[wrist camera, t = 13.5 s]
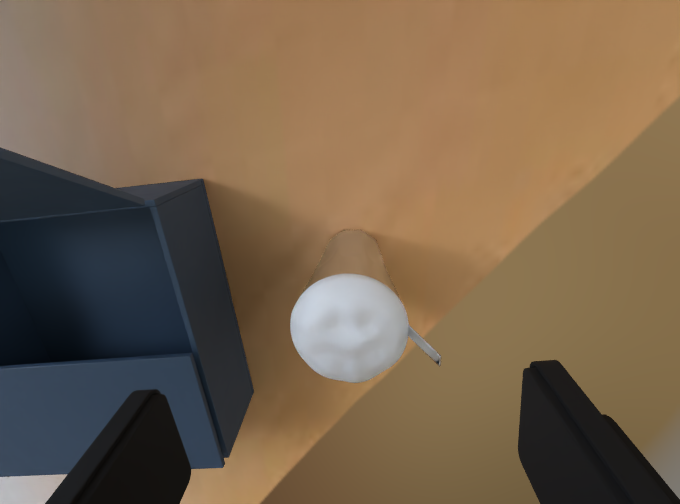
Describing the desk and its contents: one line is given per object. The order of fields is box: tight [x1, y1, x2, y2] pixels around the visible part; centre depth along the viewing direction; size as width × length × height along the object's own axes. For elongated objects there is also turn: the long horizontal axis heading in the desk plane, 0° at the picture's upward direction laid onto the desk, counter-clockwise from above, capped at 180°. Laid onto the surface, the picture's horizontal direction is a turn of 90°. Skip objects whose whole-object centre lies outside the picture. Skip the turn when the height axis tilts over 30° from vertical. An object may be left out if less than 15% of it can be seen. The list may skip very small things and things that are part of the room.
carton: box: [0, 179, 254, 477], centre depth 21 cm, size 14×15×6 cm
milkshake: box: [290, 230, 441, 383], centre depth 17 cm, size 4×5×10 cm
